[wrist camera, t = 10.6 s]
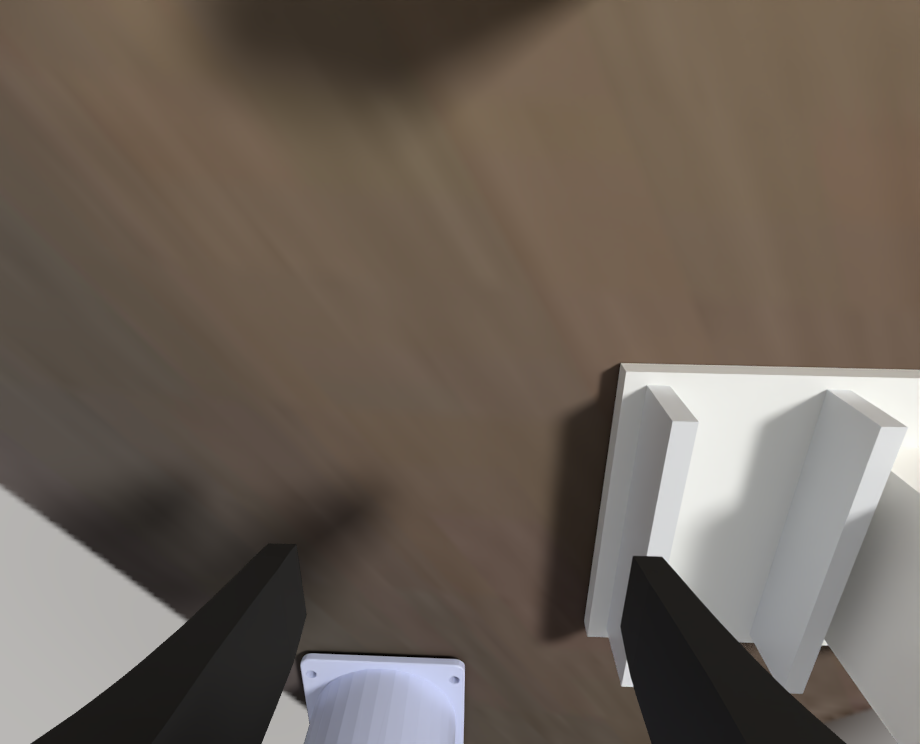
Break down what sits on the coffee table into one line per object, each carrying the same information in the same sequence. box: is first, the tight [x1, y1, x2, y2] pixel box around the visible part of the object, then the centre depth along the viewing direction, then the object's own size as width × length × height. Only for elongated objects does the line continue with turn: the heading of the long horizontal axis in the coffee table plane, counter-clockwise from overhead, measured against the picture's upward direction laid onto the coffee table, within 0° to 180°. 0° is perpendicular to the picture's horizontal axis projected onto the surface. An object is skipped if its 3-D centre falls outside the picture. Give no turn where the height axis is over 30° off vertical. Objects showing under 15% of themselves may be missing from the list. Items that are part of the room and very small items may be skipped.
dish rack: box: [584, 363, 920, 694], centre depth 20 cm, size 13×15×4 cm
